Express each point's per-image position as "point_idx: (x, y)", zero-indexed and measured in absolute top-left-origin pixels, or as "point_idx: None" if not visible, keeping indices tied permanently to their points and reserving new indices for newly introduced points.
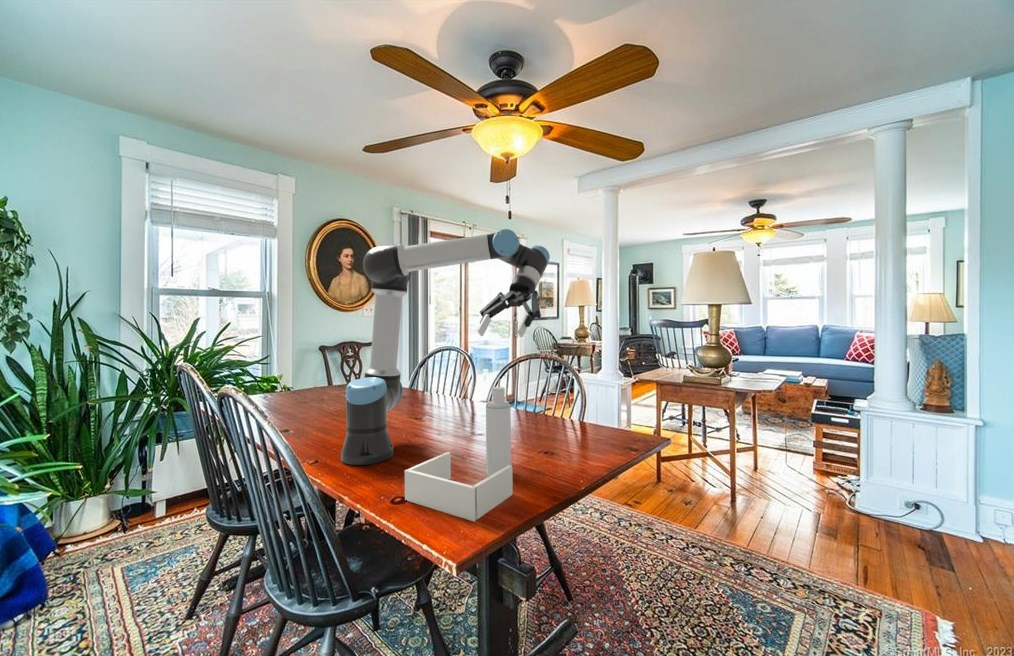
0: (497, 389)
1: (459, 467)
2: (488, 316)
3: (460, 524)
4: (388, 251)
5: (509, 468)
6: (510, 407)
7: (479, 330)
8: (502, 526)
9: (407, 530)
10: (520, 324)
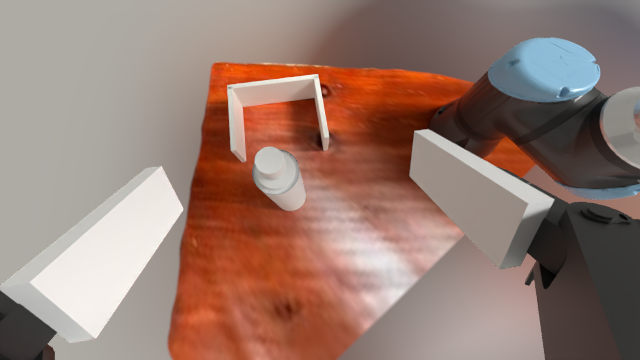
0: (261, 149)
1: (343, 181)
2: (510, 219)
3: None
4: None
5: (231, 145)
6: (256, 184)
7: (414, 137)
8: (213, 112)
9: (272, 67)
10: (127, 192)
